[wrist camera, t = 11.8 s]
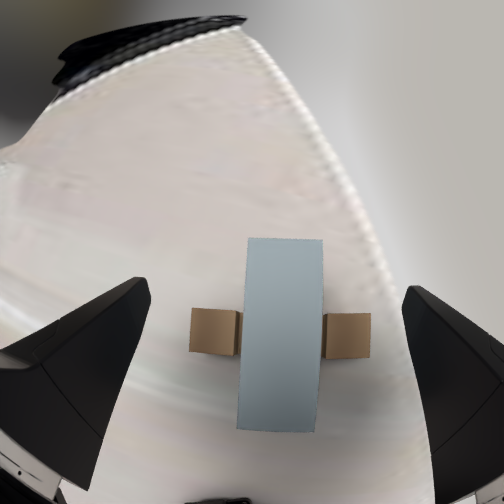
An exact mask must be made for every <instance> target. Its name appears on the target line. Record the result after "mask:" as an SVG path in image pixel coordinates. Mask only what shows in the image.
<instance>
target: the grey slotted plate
mask: <svg viewBox="0 0 504 504" xmlns="http://www.w3.org/2000/svg"><path fill="white" fill-rule="evenodd" d="M322 306H323V240H311V239H277V238H248V248H247V264H246V280H245V296H244V313H243V329H242V346H241V363H240V381H239V398H238V416H237V429H242V430H255V431H271V432H314V429H315V420H316V410H317V399H318V387H319V373H320V357H321V336H322Z"/></svg>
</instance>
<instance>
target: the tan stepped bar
mask: <svg viewBox="0 0 504 504" xmlns="http://www.w3.org/2000/svg"><path fill="white" fill-rule="evenodd" d="M242 329H243V313H239V312H238V311H233V310H217V309H203V308H192V314H191V328H190V344H189V352H198V353H208V354H218V355H230V356H234V355H236V354H241V346H242ZM370 331H371V313H353V314H325V315H322V336H321V357H323V358H325V359H350V358H369V357H370Z"/></svg>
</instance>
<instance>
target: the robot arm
mask: <svg viewBox="0 0 504 504" xmlns="http://www.w3.org/2000/svg"><path fill="white" fill-rule="evenodd" d="M150 304H151V295H150V291H149V287H148V283H147V280H146V279H145V278H144V277H133V278H131V279H129V280H127V281H126V282H124V283H122V284H120V285H118V286H116V287H115V288H113V289H111V290H109V291H107V292H106V293H104V294H102V295H100V296H98V297H97V298H95V299H93V300H91V301H89V302H88V303H86V304H84V305H82V306H81V307H79V308H77V309H75V310H74V311H72V312H70V313H68V314H67V315H65V316H63V317H61V318H60V320H59V319H58V320H56V321H54V322H53V323H51V324H49V325H47V326H46V327H44V328H42V329H40V330H38V331H37V332H35V333H33V334H31V335H29V336H27V337H25V338H23V339H21V340H19V341H17V342H15V343H13V344H11V345H9V346H7V347H5V348H3V349H0V504H67V503H66V501H65V499H64V496H63V494H62V491H61V489H60V488H59V485H60V482H61V480H62V479H64V480H66V481H67V482H69V483H71V484H73V485H75V486H77V487H79V488H81V489H83V490H86V491H88V489H89V487H90V483H91V479H92V476H93V472H94V469H95V465H96V462H97V459H98V455H99V452H100V449H101V446H102V442H103V439H104V436H105V433H106V429H107V426H108V423H109V421H110V418H111V415H112V412H113V409H114V406H115V403H116V400H117V398H118V395H119V392H120V389H121V387H122V384H123V381H124V379H125V376H126V373H127V371H128V368H129V366H130V363H131V360H132V358H133V355H134V353H135V350H136V348H137V345H138V343H139V340H140V337H141V334H142V331H143V328H144V324H145V321H146V317H147V314H148V310H149V307H150ZM402 315H403V320H404V325H405V331H406V336H407V342H408V347H409V351H410V355H411V359H412V363H413V366H414V370H415V374H416V378H417V383H418V387H419V391H420V396H421V400H422V405H423V410H424V415H425V421H426V426H427V432H428V438H429V445H430V452H431V461H432V469H433V479H434V491H435V504H454V503H456V502H459V501H461V500H463V499H466V498H468V497H470V496H472V495H475V497H476V503H477V504H504V345H503V344H502V343H500V342H499V341H498V340H496V339H495V338H494V337H492V336H491V335H489V334H488V333H487V332H486V331H484V330H483V329H482V328H480V327H479V326H477V325H476V324H475V323H473V322H472V321H471V320H469V319H468V318H466V317H465V316H464V315H462V314H461V313H459V312H458V311H456V310H455V309H454V308H452V307H451V306H449V305H448V304H446V303H445V302H443V301H442V300H440V299H439V298H438V297H436V296H435V295H433V294H431V293H430V292H429V291H427V290H425V289H424V288H423V287H421V286H409V287H408V289H407V292H406V295H405V298H404V301H403V304H402ZM243 502H246V503H247V504H252V503H251V501H250V500H249V499H248V498H240V499H233V500H216V501H205V502H198V503H185V504H244V503H243Z"/></svg>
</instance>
